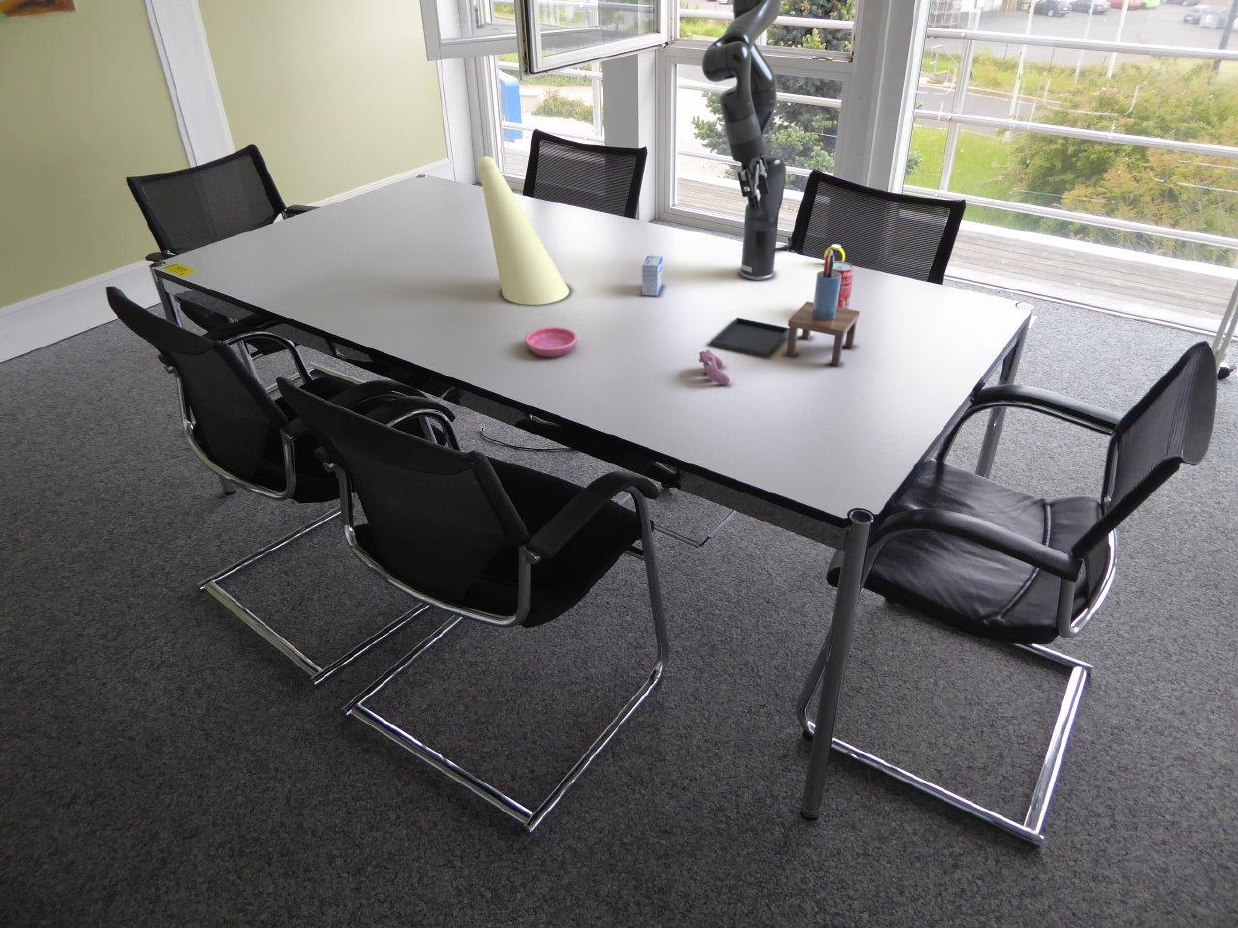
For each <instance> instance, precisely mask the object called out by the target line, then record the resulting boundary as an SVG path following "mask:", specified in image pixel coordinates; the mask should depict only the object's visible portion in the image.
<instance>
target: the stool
mask: <svg viewBox="0 0 1238 928" xmlns="http://www.w3.org/2000/svg"><path fill="white" fill-rule="evenodd" d="M813 305H814V301H807V300H806V302H804V303H803V305H802V306H800V308H799V309H798V310H797V311H796V312H795V313H794V314H793V315H792V316H791V317H790V318H789V319H788V322H787V327H788V328H789V334H788V336H787V346H786V356H788V357H792V358H793V357H795V355H796V350H797V349H796V348H797V340H798V332H799V330H802V331H801V339H802V340H806V341H807V340H809V339H810V338H811V332H816V333H820V334H825V335H830V336H834V341H833V348H832V353H831V354H832V355H831V362H830V365H831V366H835V367H839V366H840V364H841V357H842V351H843V343H844V337H845V343H844V348H846V349H851V350H852V348H853V347H854V343H855V337H856V329H857V323H858V319H859V318H860V314H861V311H860V310H855V309H850V308H849V309H845V308H840V307H837V313H836V318H835V319H832V320H819V319H816V318H814V317H813V316H812V313H813ZM845 335H846V336H845Z"/></svg>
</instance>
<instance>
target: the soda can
mask: <svg viewBox="0 0 1238 928" xmlns="http://www.w3.org/2000/svg"><path fill="white" fill-rule="evenodd" d="M853 268H854V266H853V264H852V263H850V262H848V261H847V262H846V261H844V262H842V260H836V261H835V260H834V264H833V271H835V272H838V273H840V274H841V283H840V291H839V298H838V305H837V307H840V308H845V309H850V302H851V294H852V287H853V281H854V270H853Z"/></svg>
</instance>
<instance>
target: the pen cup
mask: <svg viewBox="0 0 1238 928" xmlns="http://www.w3.org/2000/svg"><path fill="white" fill-rule="evenodd" d="M833 252H834V251H833V249H829V250H828V253H827V255H826V257H825V259H824V265H823V266H824V267H823V270H820V271H818V272H817V273H816V281H815V290H814V298H813V303H814V305H813V313H812V316H813V317H814V318H816V319H819V320H832V319H835V318H836V313H837V305H838V298H839V291H840V283H841V274H840V273H838V272H835V271H833V264H834V261H835V255H834V253H833Z"/></svg>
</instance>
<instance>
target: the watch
mask: <svg viewBox="0 0 1238 928" xmlns="http://www.w3.org/2000/svg"><path fill="white" fill-rule="evenodd" d="M829 250H835V251H839V252H840V254H841V261H842V262H845V260H846V253H845V250H844V249H843V248H842V245H840V244H835V243H834V244H832V245H830V246H829V247H827V249H826V250H825V251H824V255H823V258H824V260H825V257H826V255H828V252H829Z"/></svg>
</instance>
